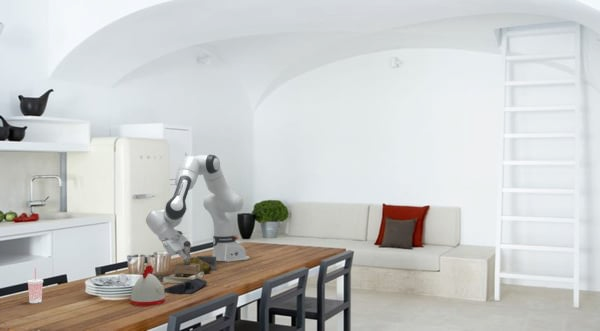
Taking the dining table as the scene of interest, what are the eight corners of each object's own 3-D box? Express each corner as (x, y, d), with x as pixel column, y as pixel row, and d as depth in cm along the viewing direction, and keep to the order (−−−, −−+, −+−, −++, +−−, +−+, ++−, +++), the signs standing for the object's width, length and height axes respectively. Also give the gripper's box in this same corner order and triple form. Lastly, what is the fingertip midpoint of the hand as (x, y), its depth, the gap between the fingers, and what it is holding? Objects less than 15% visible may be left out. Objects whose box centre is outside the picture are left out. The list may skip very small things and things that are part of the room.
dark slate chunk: (212, 286, 290) (212, 276, 290) (189, 296, 270) (189, 285, 270) (184, 284, 295) (184, 274, 295) (159, 293, 275) (159, 282, 275)
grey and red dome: (170, 299, 262) (170, 263, 262) (155, 306, 248) (155, 269, 248) (140, 297, 265) (140, 262, 265) (124, 304, 252) (124, 268, 251)
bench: (195, 268, 335) (195, 255, 334) (219, 269, 331) (219, 256, 331) (163, 282, 297) (163, 267, 297) (190, 283, 294) (190, 269, 294)
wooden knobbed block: (180, 274, 313) (180, 239, 312) (200, 275, 310) (200, 240, 310) (174, 277, 306) (174, 241, 305) (195, 278, 303) (194, 242, 303)
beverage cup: (38, 299, 261) (38, 266, 261) (46, 301, 257) (46, 268, 257) (24, 302, 257) (24, 268, 256) (32, 304, 253) (31, 270, 253)
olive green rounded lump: (202, 275, 315) (202, 259, 315) (183, 273, 322) (183, 257, 322) (213, 272, 322) (213, 257, 322) (194, 270, 329) (194, 255, 329)
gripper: (164, 235, 299) (183, 256, 296) (182, 231, 318) (200, 250, 316) (156, 244, 300) (175, 265, 297) (174, 239, 319) (192, 258, 317)
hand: (188, 257), depth 307 cm, fingers closed on wooden knobbed block, 3 cm apart
